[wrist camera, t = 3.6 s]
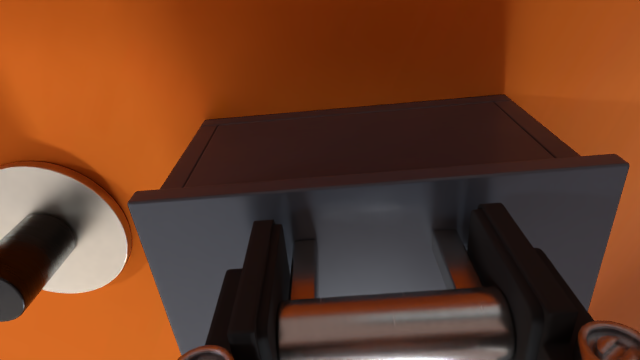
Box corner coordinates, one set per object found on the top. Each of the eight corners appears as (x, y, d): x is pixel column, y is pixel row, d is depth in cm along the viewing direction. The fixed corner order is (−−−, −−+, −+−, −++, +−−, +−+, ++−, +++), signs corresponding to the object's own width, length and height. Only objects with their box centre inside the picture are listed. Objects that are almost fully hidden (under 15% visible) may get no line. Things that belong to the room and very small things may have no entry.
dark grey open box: (204, 119, 20) (143, 212, 13) (505, 94, 19) (607, 176, 12) (255, 340, 27) (233, 476, 20) (476, 326, 26) (532, 461, 19)
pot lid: (-57, 167, 21) (-160, 228, 16) (103, 154, 21) (43, 212, 16) (14, 290, 25) (-54, 367, 20) (150, 281, 24) (111, 356, 20)
